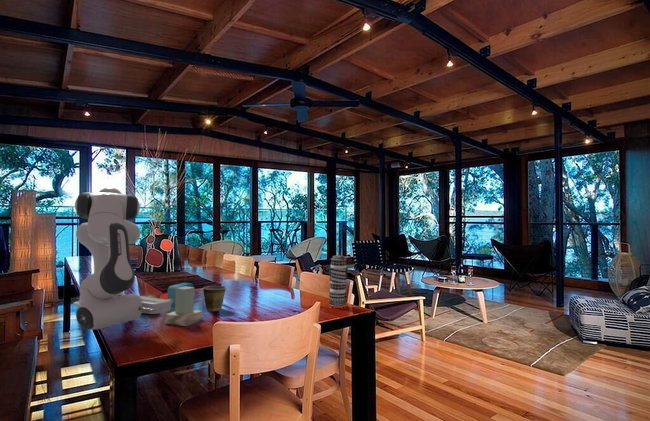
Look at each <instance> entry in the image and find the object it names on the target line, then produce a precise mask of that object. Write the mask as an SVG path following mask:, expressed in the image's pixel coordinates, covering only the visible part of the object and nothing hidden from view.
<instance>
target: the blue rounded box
mask: <svg viewBox="0 0 650 421" xmlns="http://www.w3.org/2000/svg"><path fill="white" fill-rule="evenodd" d="M184 286H187V287H194V284H193V283H191V282H182V283H177V284H173V285H169V286H168V288H167V294H166V295H167V297H166V299H173V303H172V304H171V309H170V311H167V312H166V314H168V313H171V312H174V311H175V301H176V288H179V287H184ZM194 288H195V287H194Z"/></svg>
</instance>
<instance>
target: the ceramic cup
mask: <svg viewBox="0 0 650 421" xmlns="http://www.w3.org/2000/svg"><path fill="white" fill-rule="evenodd" d="M202 291H203V292H202V293H203V297H204V306H205V310H206V309H207V310H206V311H209V312H218V311H220V310H222V308H223V304H224V303H223V302H224V297H225V293H226V286H224V285H207V286H204V287H203V288H202Z"/></svg>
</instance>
